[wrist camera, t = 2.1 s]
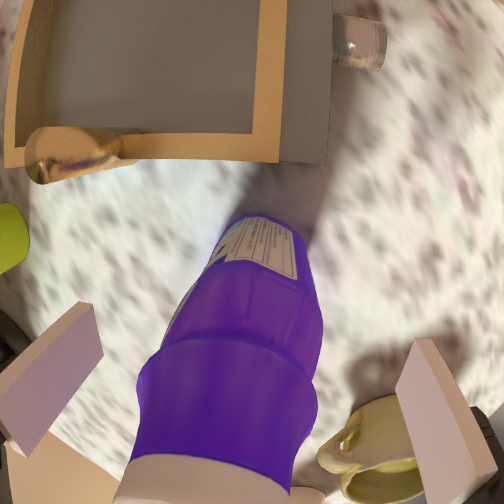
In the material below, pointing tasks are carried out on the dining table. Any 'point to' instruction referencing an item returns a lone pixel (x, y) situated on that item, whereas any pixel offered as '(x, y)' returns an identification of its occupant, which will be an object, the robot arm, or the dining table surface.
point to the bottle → (231, 377)
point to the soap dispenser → (12, 237)
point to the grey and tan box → (176, 81)
